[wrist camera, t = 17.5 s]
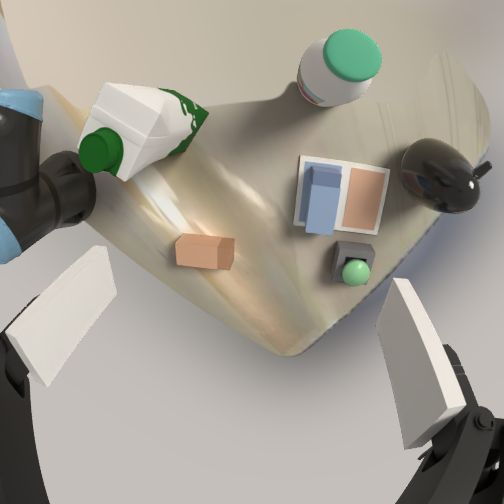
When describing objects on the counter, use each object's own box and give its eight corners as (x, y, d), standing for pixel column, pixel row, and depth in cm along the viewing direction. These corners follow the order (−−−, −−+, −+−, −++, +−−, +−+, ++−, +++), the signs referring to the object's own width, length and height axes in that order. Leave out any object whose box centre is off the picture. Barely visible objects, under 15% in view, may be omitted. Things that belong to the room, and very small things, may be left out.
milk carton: (144, 131, 39) (58, 153, 22) (172, 83, 35) (90, 72, 18) (187, 159, 41) (116, 196, 23) (218, 110, 37) (159, 110, 19)
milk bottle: (350, 61, 31) (399, 22, 13) (349, 110, 34) (401, 108, 17) (296, 55, 32) (302, 6, 14) (296, 105, 35) (303, 94, 18)
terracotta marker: (184, 253, 49) (176, 264, 46) (183, 233, 47) (175, 243, 44) (234, 259, 48) (229, 271, 45) (234, 238, 47) (229, 249, 43)
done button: (337, 275, 45) (340, 285, 42) (343, 252, 42) (346, 260, 40) (362, 278, 44) (365, 287, 42) (368, 254, 42) (373, 263, 40)
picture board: (293, 224, 44) (293, 225, 43) (300, 155, 39) (300, 155, 38) (376, 234, 43) (377, 235, 42) (389, 169, 38) (390, 169, 37)
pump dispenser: (456, 168, 35) (511, 196, 22) (418, 209, 40) (463, 252, 26) (420, 121, 33) (476, 130, 20) (379, 166, 38) (421, 194, 24)
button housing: (330, 271, 47) (332, 281, 44) (337, 240, 44) (339, 248, 42) (362, 275, 47) (366, 284, 44) (371, 244, 44) (375, 253, 41)
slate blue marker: (329, 224, 43) (332, 235, 39) (304, 222, 43) (305, 232, 39) (337, 168, 38) (342, 174, 35) (311, 165, 39) (313, 170, 35)
